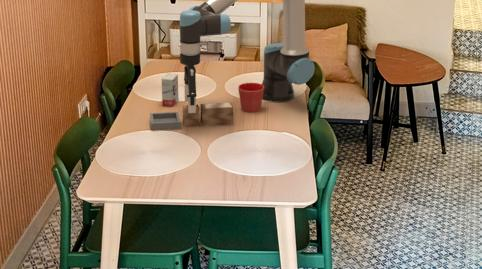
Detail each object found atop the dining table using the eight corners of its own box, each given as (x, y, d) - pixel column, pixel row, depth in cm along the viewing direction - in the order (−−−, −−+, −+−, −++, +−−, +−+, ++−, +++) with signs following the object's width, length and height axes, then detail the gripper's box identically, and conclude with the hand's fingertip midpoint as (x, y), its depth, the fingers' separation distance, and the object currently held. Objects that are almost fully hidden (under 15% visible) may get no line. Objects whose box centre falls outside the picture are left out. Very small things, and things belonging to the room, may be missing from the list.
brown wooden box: (230, 118, 272) (230, 101, 270) (233, 124, 267) (233, 107, 264) (200, 120, 270) (200, 103, 268) (202, 126, 265) (202, 108, 262)
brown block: (198, 121, 270) (197, 104, 267) (199, 126, 265) (199, 108, 262) (182, 122, 269) (182, 104, 266) (184, 126, 264) (183, 109, 261)
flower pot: (234, 111, 280) (234, 89, 276) (243, 103, 290) (243, 81, 286) (258, 115, 277) (259, 92, 273) (267, 106, 286) (267, 84, 282)
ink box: (173, 106, 284) (172, 79, 280) (161, 105, 285) (160, 78, 281) (179, 99, 292) (178, 73, 288) (167, 99, 293) (167, 72, 288)
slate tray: (178, 118, 272) (177, 111, 271) (180, 128, 262) (180, 122, 261) (150, 119, 270) (149, 113, 269) (151, 130, 260) (151, 123, 259)
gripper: (176, 44, 267) (177, 96, 275) (183, 62, 244) (183, 118, 252) (196, 44, 268) (196, 95, 276) (204, 62, 245) (203, 117, 253)
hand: (190, 106), depth 264 cm, fingers open, 13 cm apart
